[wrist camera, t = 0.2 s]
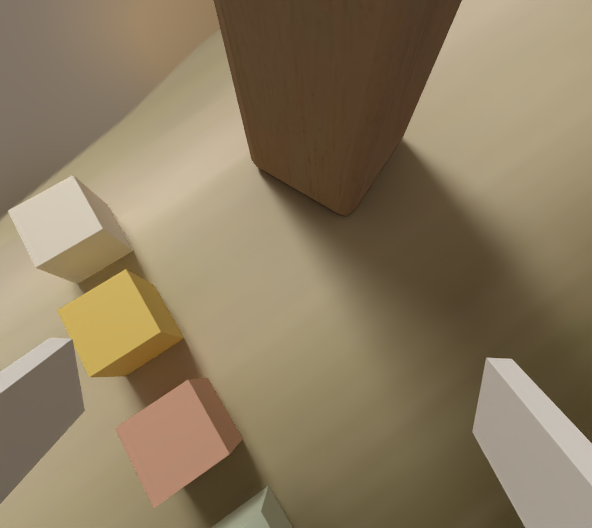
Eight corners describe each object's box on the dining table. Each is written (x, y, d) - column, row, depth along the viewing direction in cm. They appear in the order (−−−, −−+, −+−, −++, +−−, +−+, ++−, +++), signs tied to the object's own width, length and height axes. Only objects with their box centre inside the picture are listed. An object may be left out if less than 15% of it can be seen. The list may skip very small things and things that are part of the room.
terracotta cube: (242, 439, 26) (229, 454, 22) (181, 482, 26) (153, 508, 21) (207, 378, 28) (187, 379, 23) (148, 418, 27) (114, 428, 22)
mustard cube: (184, 338, 28) (161, 331, 24) (126, 376, 28) (89, 377, 23) (154, 285, 30) (125, 268, 25) (97, 320, 29) (56, 310, 24)
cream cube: (134, 250, 31) (102, 228, 26) (78, 284, 30) (35, 267, 25) (107, 204, 32) (73, 175, 27) (53, 235, 31) (7, 210, 26)
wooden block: (405, 136, 33) (548, -192, 14) (347, 224, 31) (422, -20, 12) (310, 86, 35) (319, -269, 15) (248, 166, 32) (170, -131, 13)
